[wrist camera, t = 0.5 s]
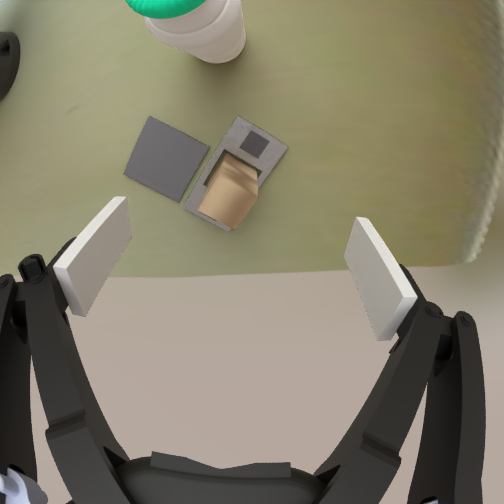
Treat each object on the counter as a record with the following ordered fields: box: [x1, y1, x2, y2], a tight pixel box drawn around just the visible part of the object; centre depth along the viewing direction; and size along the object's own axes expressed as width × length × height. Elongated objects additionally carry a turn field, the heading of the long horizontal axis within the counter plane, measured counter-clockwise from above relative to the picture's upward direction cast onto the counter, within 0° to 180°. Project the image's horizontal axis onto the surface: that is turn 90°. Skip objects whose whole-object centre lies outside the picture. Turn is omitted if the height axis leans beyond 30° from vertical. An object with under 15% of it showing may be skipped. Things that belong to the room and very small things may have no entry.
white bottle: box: [125, 0, 246, 63], centre depth 17 cm, size 7×7×25 cm
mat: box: [124, 116, 209, 202], centre depth 37 cm, size 10×10×1 cm
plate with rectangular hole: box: [183, 115, 288, 232], centre depth 38 cm, size 8×16×1 cm, turn 147°
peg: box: [198, 153, 258, 230], centre depth 35 cm, size 5×5×10 cm
